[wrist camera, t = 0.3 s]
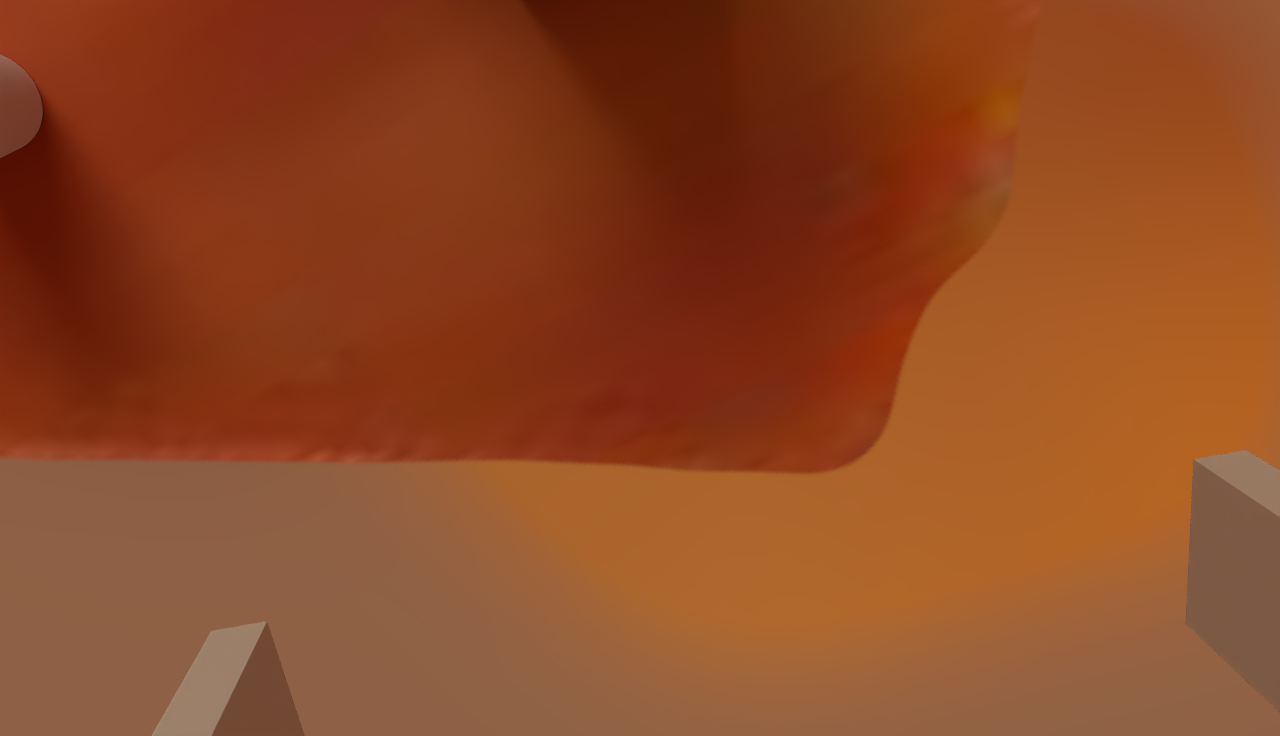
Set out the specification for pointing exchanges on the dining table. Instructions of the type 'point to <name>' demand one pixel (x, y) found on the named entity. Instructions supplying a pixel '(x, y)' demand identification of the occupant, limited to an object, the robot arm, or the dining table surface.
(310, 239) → the dining table surface
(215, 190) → the dining table surface
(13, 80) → the smoothie
